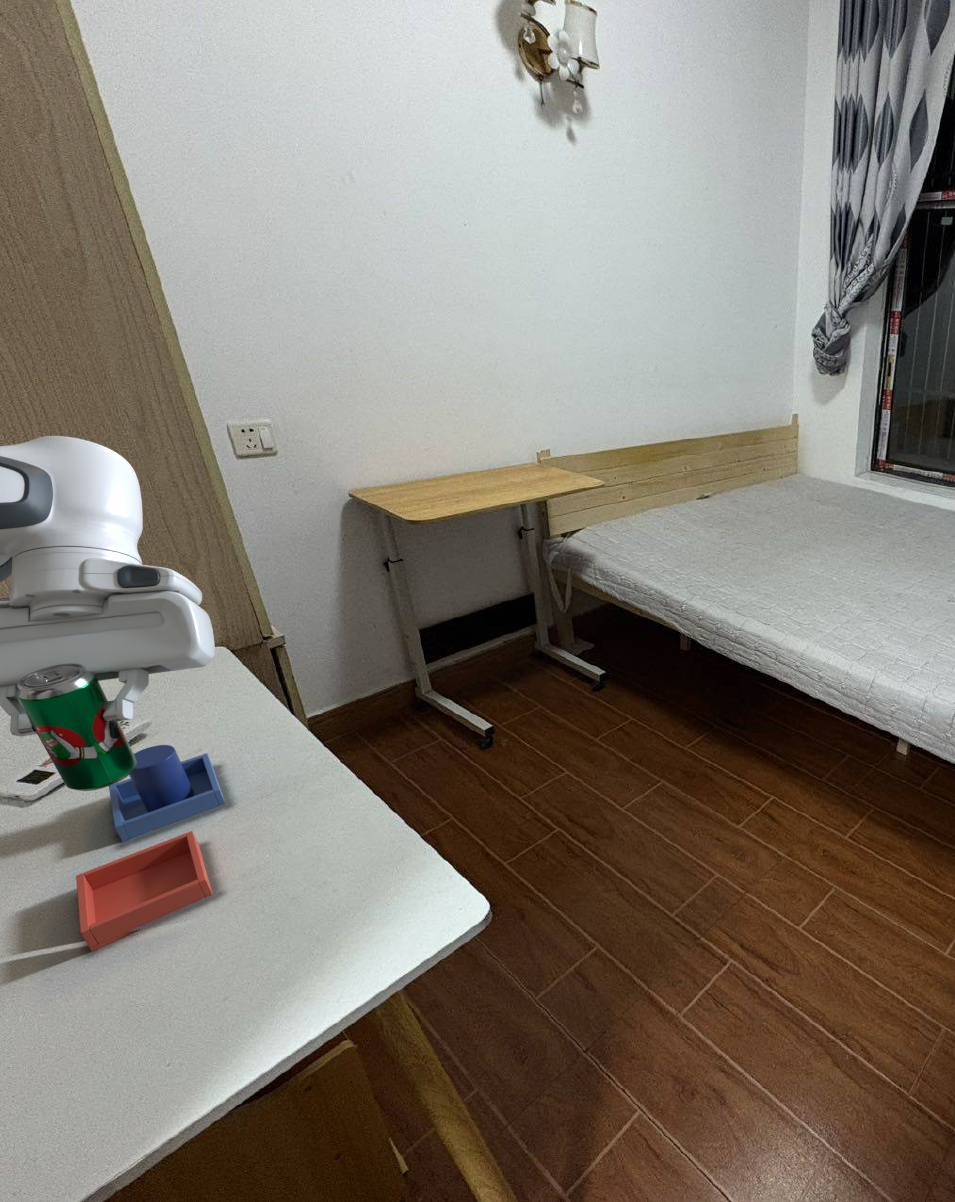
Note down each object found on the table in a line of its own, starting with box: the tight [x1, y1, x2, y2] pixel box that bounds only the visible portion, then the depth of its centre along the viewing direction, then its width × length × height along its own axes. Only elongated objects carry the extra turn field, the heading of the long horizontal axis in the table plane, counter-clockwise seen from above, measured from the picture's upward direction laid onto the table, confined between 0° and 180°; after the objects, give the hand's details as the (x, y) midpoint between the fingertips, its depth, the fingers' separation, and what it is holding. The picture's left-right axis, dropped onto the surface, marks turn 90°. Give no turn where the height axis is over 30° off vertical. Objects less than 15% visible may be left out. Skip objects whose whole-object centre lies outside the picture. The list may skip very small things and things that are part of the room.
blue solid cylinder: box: [128, 744, 194, 812], centre depth 79 cm, size 4×4×7 cm
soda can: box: [16, 663, 137, 792], centre depth 62 cm, size 5×5×12 cm
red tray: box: [75, 830, 213, 952], centre depth 68 cm, size 9×9×3 cm
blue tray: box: [108, 752, 226, 843], centre depth 80 cm, size 9×9×3 cm
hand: (74, 727), depth 61 cm, fingers closed on soda can, 5 cm apart
